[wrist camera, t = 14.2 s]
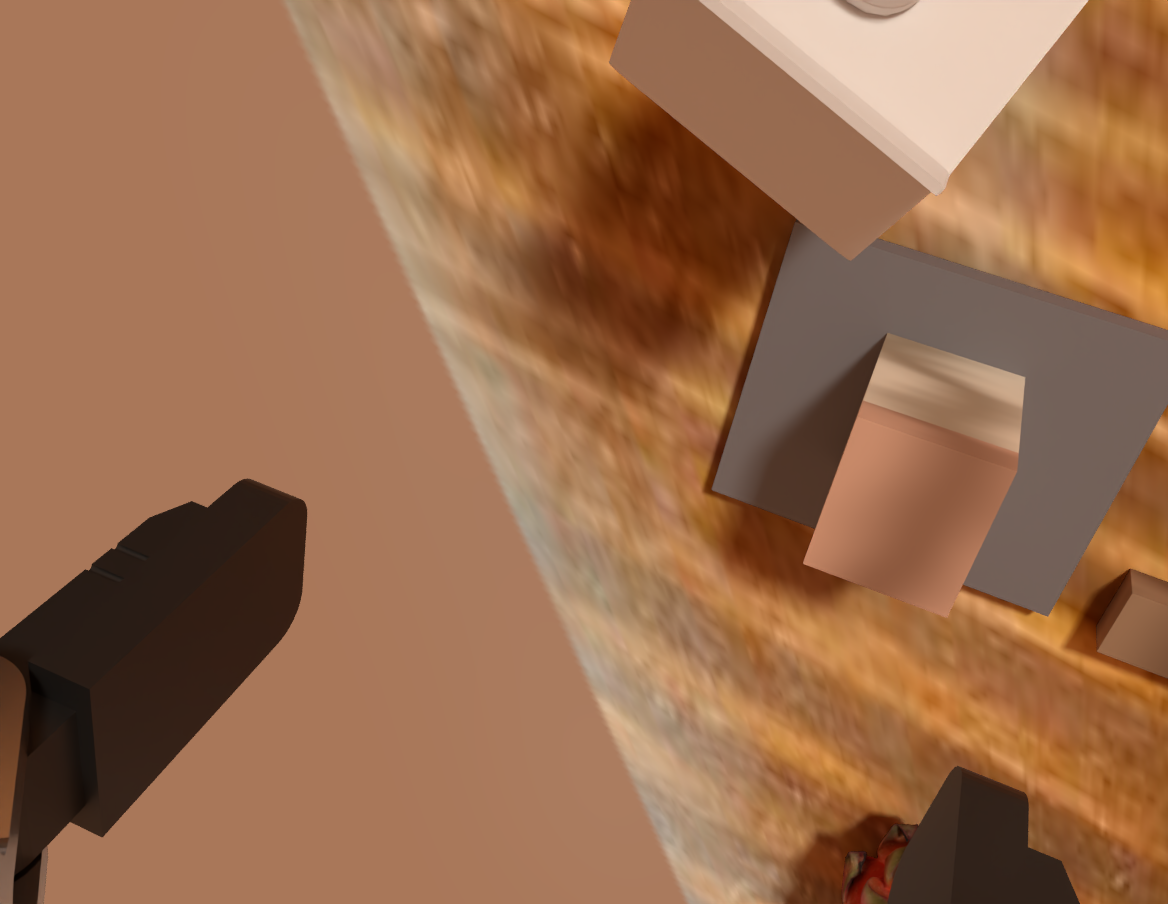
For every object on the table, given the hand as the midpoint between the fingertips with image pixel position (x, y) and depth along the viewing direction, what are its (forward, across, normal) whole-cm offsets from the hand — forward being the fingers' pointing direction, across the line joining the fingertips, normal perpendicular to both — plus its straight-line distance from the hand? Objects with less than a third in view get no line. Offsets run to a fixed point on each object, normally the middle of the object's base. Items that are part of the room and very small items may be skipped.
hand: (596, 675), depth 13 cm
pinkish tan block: (+30, -5, +12) cm, 32 cm away
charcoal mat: (+30, -5, +11) cm, 32 cm away
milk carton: (+31, +1, -4) cm, 31 cm away
